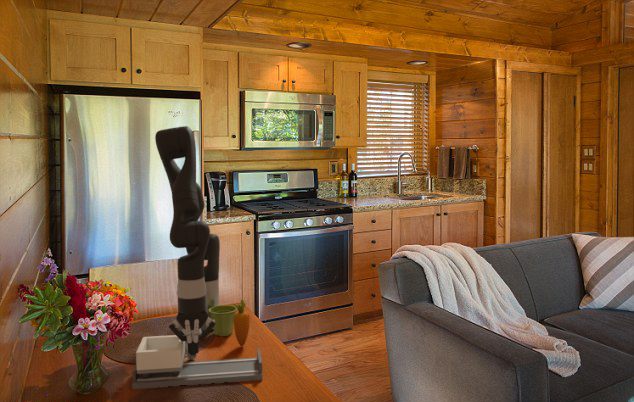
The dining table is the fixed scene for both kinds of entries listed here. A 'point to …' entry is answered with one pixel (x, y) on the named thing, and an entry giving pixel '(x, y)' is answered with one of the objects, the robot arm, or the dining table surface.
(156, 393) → the dining table surface
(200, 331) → the lightbulb
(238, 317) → the carrot
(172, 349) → the cream open box
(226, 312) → the plant pot
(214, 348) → the dining table surface
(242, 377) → the rail board
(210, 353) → the dining table surface
